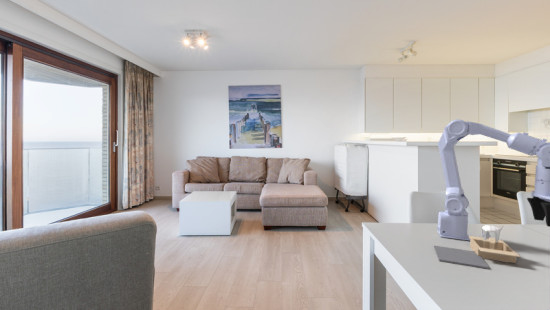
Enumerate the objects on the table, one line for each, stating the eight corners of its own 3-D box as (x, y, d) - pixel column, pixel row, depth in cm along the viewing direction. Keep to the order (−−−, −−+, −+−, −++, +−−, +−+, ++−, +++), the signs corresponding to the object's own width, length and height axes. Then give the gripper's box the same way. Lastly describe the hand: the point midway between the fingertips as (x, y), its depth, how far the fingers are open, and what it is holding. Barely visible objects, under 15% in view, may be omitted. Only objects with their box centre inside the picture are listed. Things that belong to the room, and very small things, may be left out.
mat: (439, 260, 79) (439, 259, 79) (433, 246, 90) (433, 245, 90) (489, 269, 74) (489, 267, 74) (477, 253, 85) (477, 251, 85)
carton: (480, 260, 80) (480, 250, 79) (468, 244, 92) (468, 235, 92) (519, 266, 76) (520, 256, 76) (501, 248, 89) (501, 240, 88)
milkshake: (498, 259, 81) (499, 226, 80) (478, 252, 85) (479, 222, 85) (505, 256, 83) (506, 224, 82) (485, 250, 87) (486, 220, 87)
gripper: (580, 184, 75) (577, 231, 76) (551, 178, 88) (549, 218, 89) (547, 183, 78) (544, 228, 79) (524, 177, 91) (522, 216, 92)
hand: (545, 223), depth 84 cm, fingers open, 7 cm apart
